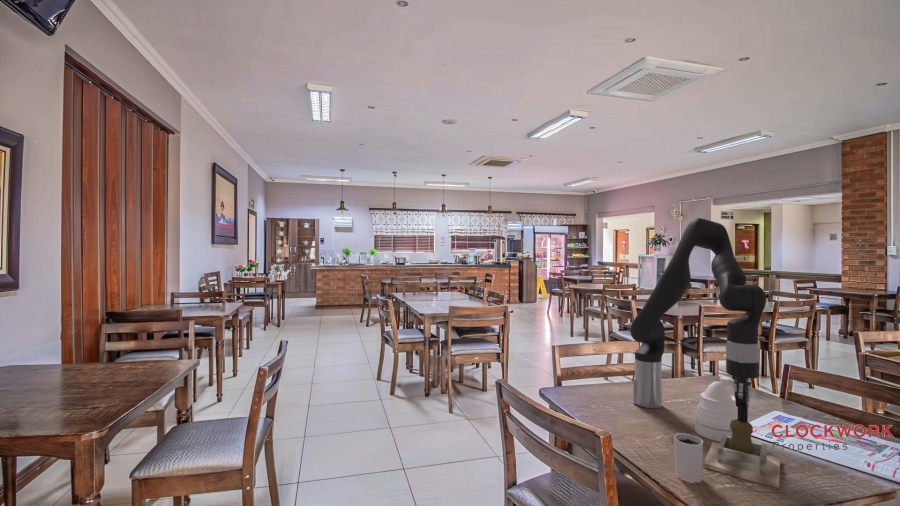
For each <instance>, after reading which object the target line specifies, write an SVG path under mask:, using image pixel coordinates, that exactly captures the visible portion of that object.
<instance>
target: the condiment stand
mask: <svg viewBox="0 0 900 506" xmlns="http://www.w3.org/2000/svg"><path fill="white" fill-rule="evenodd" d="M731 438H732V437H731V436H727V435H723V434H722V437H721V440H720V441H719V443H718V442H716V441H715V442H714V441H712V442H711V446H710V448H709V450H708V452H707V455H706V458H705V461H704V463H703V468H704V467H706V468H705V469H707V468H709V469H708V470H711V469H714V470H713V471H715V470H716V472H718V471H719V473H723V474H726V475H730V476H733V477H736V478H741V479H744V480H746V481H751V482H755V483H758V484H761V485H765V486H769V487H773V488H775V489H780V475H781V458H780V457H777V456H772V455H768V444H765V443H761V442H757V441H753V440H751V442H752V448H753V454H754V455H752V454H748V453H744V452H740V451H736V450H732V449H730V444H731Z"/></svg>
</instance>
